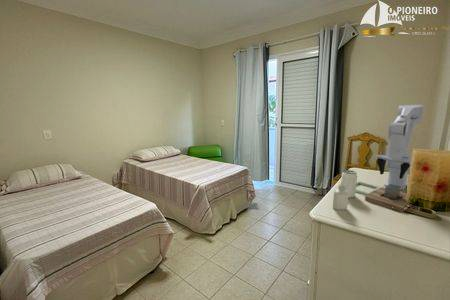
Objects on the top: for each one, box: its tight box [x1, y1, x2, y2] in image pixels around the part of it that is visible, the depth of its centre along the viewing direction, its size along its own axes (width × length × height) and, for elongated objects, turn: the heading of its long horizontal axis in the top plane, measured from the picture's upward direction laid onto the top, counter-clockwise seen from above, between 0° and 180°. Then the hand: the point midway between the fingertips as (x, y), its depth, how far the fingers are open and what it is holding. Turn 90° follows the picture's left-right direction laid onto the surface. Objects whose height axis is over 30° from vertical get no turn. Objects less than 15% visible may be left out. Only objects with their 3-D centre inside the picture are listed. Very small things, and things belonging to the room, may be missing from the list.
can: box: [340, 169, 358, 199], centre depth 101 cm, size 6×6×12 cm
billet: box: [384, 184, 401, 201], centre depth 94 cm, size 5×4×7 cm
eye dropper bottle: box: [332, 181, 349, 211], centre depth 88 cm, size 4×6×12 cm
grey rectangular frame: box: [355, 180, 382, 196], centre depth 108 cm, size 14×11×1 cm
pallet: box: [364, 186, 410, 213], centre depth 95 cm, size 18×14×2 cm
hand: (391, 176), depth 100 cm, fingers open, 7 cm apart
